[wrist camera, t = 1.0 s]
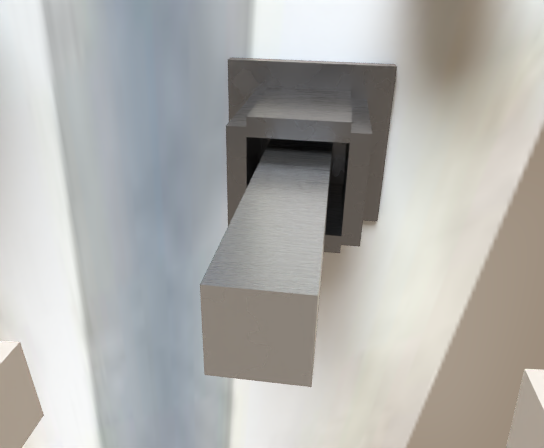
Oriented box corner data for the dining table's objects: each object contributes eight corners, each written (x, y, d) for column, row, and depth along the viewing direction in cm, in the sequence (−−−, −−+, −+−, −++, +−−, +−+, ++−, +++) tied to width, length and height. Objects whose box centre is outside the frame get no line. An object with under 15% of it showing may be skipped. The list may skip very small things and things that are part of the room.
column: (279, 175, 40) (205, 386, 19) (280, 117, 38) (200, 284, 17) (330, 179, 39) (310, 399, 19) (334, 120, 37) (317, 295, 17)
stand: (233, 205, 43) (194, 281, 32) (230, 57, 37) (183, 89, 27) (376, 216, 41) (386, 299, 31) (395, 64, 36) (415, 100, 25)
